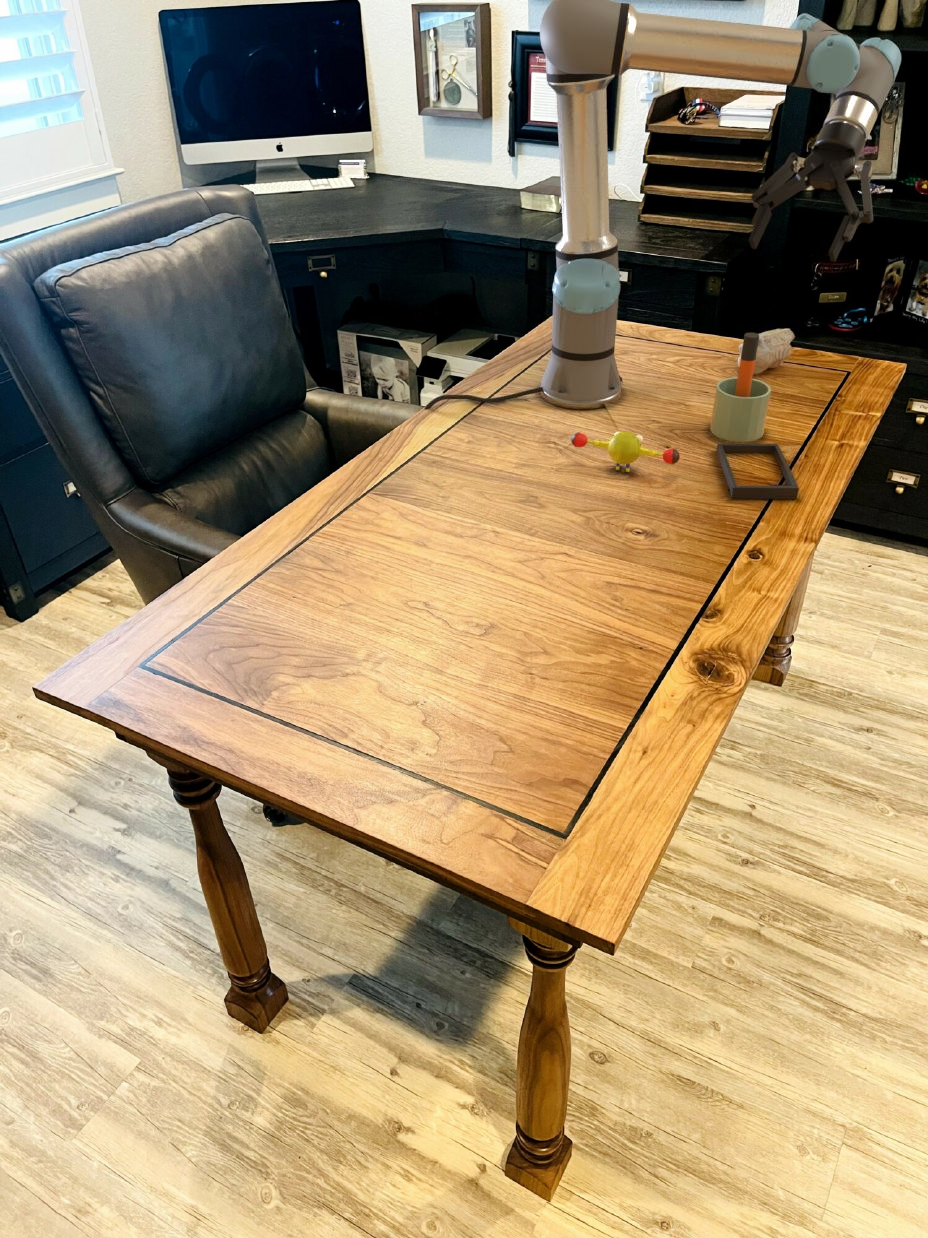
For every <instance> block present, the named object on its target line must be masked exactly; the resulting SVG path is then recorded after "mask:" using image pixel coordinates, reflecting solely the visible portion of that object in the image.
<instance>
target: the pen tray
mask: <svg viewBox="0 0 928 1238" xmlns="http://www.w3.org/2000/svg"><path fill="white" fill-rule="evenodd" d="M716 454H717V457H718V461H719V463H720V465H721V468H722V472H723V474H724V477H725V480H726V483H727V486H728V489H727V490H728V493H729V496H730V498H731V499H732V500H798V494H799V490H800V488H799V485H798V483H797V481H796V479H795V477H794V475H793V473H792V471H791V468H790V466H789V464H788V463H787V459H786V458H785V456H784V454H783V451H782V450H781V447H780V445H779V443H717V445H716ZM726 454H773V456H774V458H775V460H776V463H777V465H778V467H779V469H780V472H781V474H782V476H783V478H784V480H785V483H786V484H774V485H737V481H736V479H735V476H734V474H733V471H732V468H731V466H730V463H729V460H728V457H727V455H726Z"/></svg>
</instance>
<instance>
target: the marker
mask: <svg viewBox="0 0 928 1238" xmlns="http://www.w3.org/2000/svg"><path fill="white" fill-rule="evenodd" d="M759 334H760V333H756V332H746V333H744V335H743V341H742V343H743V347H742V354H741V360H740V366H738V372H737V373H738V374H737V377H738V379H737V386H736V392H735V396H738V397H749V396H750V390H751V384H752V379H754V378H753V377H754V374H753V372H754V366H755V360H756V354H757V348H758V342H759Z"/></svg>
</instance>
